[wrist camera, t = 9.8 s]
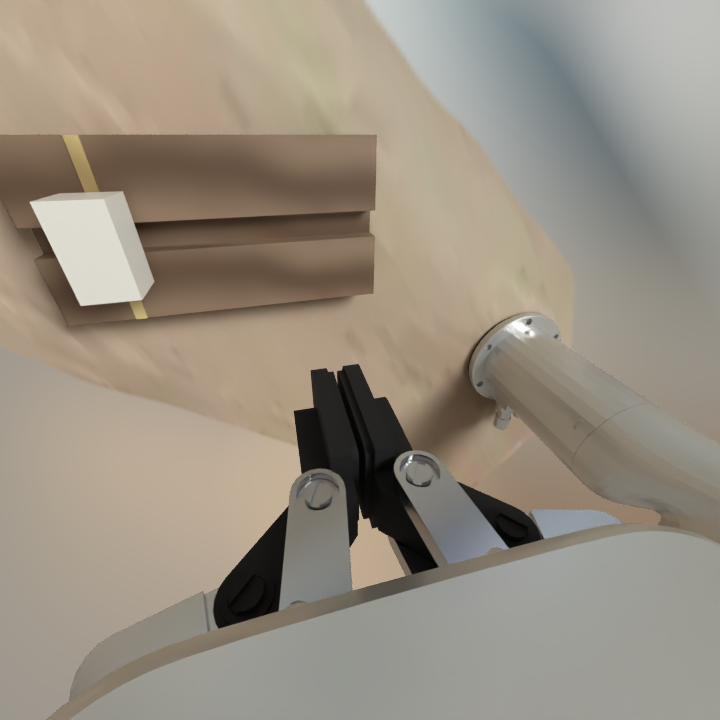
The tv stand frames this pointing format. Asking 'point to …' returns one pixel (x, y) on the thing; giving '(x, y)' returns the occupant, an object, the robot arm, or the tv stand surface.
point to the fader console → (211, 214)
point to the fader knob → (96, 245)
